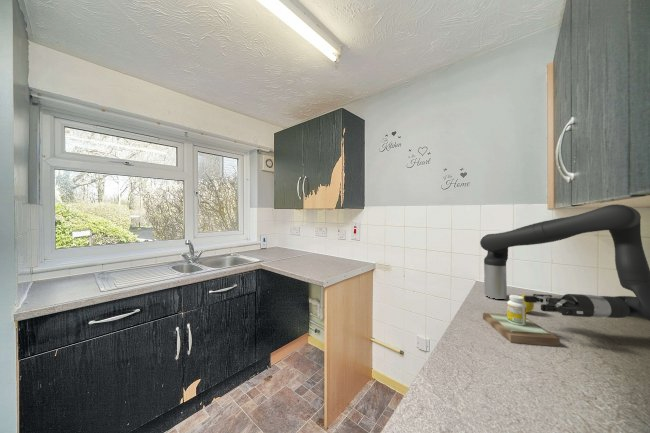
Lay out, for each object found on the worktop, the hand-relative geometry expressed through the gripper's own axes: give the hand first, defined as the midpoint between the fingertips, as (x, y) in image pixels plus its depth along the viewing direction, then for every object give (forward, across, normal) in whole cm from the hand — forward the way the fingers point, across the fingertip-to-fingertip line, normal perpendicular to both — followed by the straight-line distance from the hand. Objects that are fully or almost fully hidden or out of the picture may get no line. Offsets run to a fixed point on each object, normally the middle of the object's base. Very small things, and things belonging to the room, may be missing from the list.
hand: (532, 303), depth 82 cm
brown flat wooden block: (+5, 0, +10) cm, 12 cm away
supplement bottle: (+5, 0, +8) cm, 9 cm away
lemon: (-8, -18, +11) cm, 23 cm away
